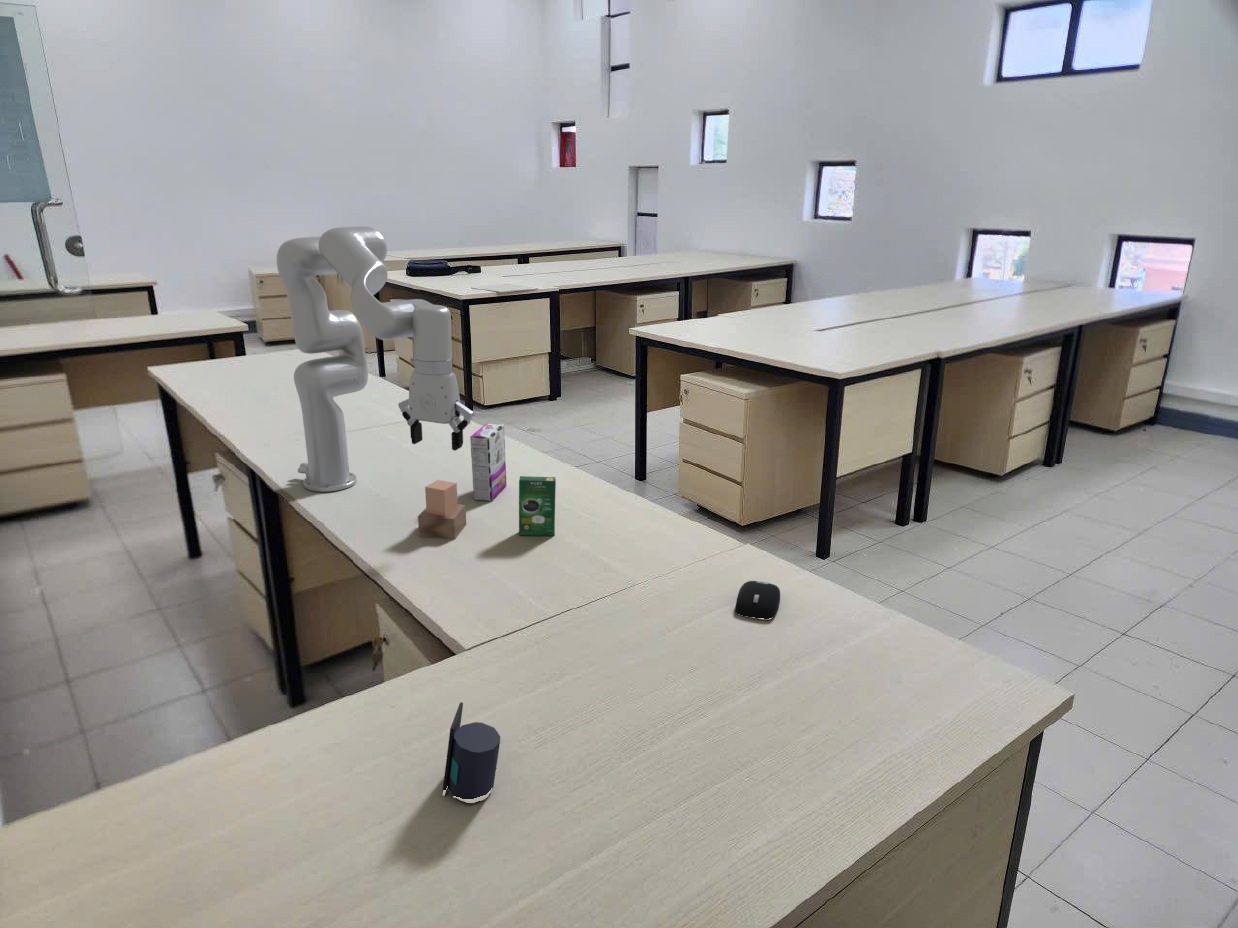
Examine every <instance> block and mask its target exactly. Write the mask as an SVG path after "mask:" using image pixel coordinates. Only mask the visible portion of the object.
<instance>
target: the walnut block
mask: <svg viewBox="0 0 1238 928" xmlns="http://www.w3.org/2000/svg"><path fill="white" fill-rule="evenodd" d="M466 509H467V506H466V504H458V509H457V510H455V511H453V512H452V513H450V514H449V515H447V516H441V515H435V514H430V513H427V511H426V507H425V508H424V509H423V510H422V511H421V512H420V514H418V515H417V522H418V536H419V537H420V538H431V539H444V540H446V539H447V540H456V539H457V537H458V536H459V535H460V534H461V533H462V531H463V530H464V529H465V527H466V526H467V510H466Z"/></svg>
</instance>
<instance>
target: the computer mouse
mask: <svg viewBox="0 0 1238 928" xmlns="http://www.w3.org/2000/svg"><path fill="white" fill-rule="evenodd" d="M780 602H781V589H780V588H779V586H777V585H775V584H774V583H771V582H765V581H760V580H748V581H746V582H745V583H743V584H742V585H741V586H740V588H739V590H738V594H737V596H736V602H735V613H736V612H737V613H738V614H740V615H743V616H742V617H744V616H748V617H755V618H764V619H769V618H772V617H773V618H775V616H776V614H777V612H778V609H779V606H780ZM737 613H736V614H737ZM738 614H737V615H738ZM740 615H739V616H740ZM774 615H775V616H774ZM748 617H747V618H748Z"/></svg>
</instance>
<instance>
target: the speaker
mask: <svg viewBox="0 0 1238 928" xmlns="http://www.w3.org/2000/svg"><path fill="white" fill-rule="evenodd" d="M463 706H464V702H459V704H458V707H457V709H456V712H455V715H454V717H453V721H452V723H451V726H450V728H449V736H448V743H447V744H448V745H447V752H446V758H445V759H446V760H445V768H444V778H443V784H442V791H443V790H446V788H447V786H448V789H449V790H448V789H447V790H448V792H449V791H450V792H451V793H450V792H449V793H450V795H451V794H452V795H451V797H452V796H456V797H460V798H462V799H474V798H477V797H480V796H483V795H486V794H487V793H488V792H489V791H490V790H491V788H492V787H493V788H494V785H495V778H496V773H497V764H498V759H499V752H500V744H501V735H500V733H499V732H498V730H496V728H495V727H494V726H491V725H489V724H486V723H484V722H480V721H479V722H478V721H477V722H476V721H474V722H469V723H466V724H461V722H462V717H463V716H462V715H463V708H464V707H463Z"/></svg>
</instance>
